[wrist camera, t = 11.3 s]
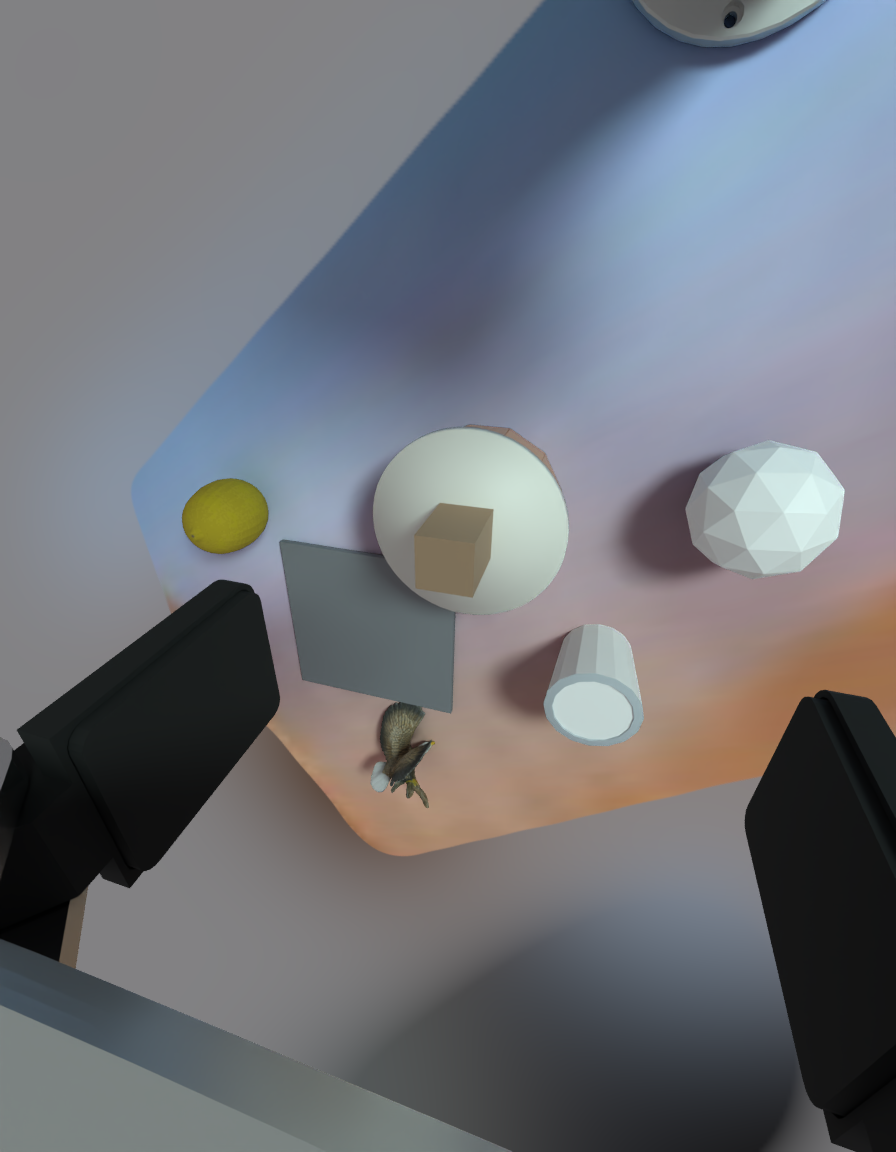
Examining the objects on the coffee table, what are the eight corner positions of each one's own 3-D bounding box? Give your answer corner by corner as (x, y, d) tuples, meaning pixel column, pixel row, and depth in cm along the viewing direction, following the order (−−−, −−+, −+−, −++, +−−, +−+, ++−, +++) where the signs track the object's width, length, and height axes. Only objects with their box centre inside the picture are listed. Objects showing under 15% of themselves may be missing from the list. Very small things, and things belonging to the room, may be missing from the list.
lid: (371, 418, 32) (327, 443, 27) (582, 436, 29) (576, 467, 24) (382, 593, 39) (349, 638, 34) (556, 622, 36) (546, 676, 31)
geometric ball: (763, 449, 34) (895, 436, 26) (748, 569, 35) (871, 590, 27) (664, 443, 32) (777, 427, 24) (653, 570, 33) (756, 593, 25)
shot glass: (635, 690, 43) (638, 754, 37) (552, 679, 44) (542, 739, 39) (645, 621, 39) (650, 681, 33) (554, 613, 41) (544, 668, 35)
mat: (282, 539, 45) (279, 541, 45) (456, 566, 42) (455, 569, 41) (305, 676, 53) (302, 679, 53) (452, 709, 50) (450, 713, 49)
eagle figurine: (458, 782, 53) (453, 733, 47) (403, 830, 50) (391, 783, 44) (413, 735, 58) (403, 685, 52) (360, 776, 54) (343, 727, 48)
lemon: (270, 461, 42) (204, 495, 35) (295, 523, 44) (238, 566, 37) (218, 471, 44) (146, 506, 37) (245, 530, 46) (182, 573, 39)
